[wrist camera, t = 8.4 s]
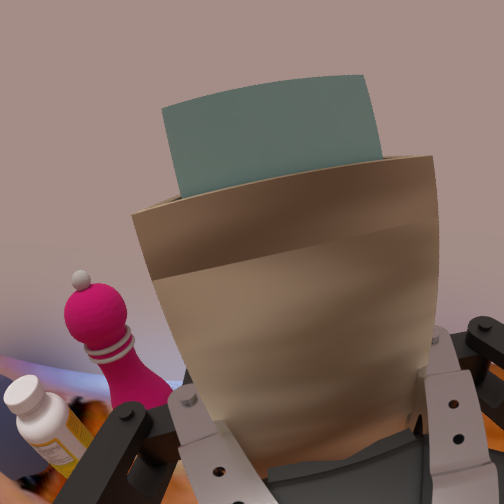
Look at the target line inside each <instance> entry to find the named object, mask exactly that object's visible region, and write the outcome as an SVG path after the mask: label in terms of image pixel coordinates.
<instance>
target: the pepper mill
mask: <svg viewBox="0 0 504 504" xmlns="http://www.w3.org/2000/svg"><path fill="white" fill-rule="evenodd" d="M90 282H91V279H90V276H89V274H88V273H87V272H86V271H83V270H78V271H76V272H75V273H74V274H73V276H72V285H73V287H74V288H75V289H77V291H75V292H74V293H73V294H72V295H71V296H70V297H69V299H68V301H67V303H66V305H65V309H64V318H65V323H66V326H67V328H68V330H69V332H70V334H71V335H72V336H73V337H74V338H75V339H76V340H78V341H79V342H82V343H84V350H85V352H86V353H87V354H88V357H89V359H90V360H91V361H92V362H93V363H97V364H98V365H99V367H100V368H101V370H102V371H103V373H104V375H105V377H106V379H107V382H108V385H109V388H110V395H111V403H112V408H113V409H114V408H115V407H117V406H118V405H120V404H122V403H124V402H128V401H137V402H140V403H141V404H143V405H144V407H145V408H146V410H148V409H151V408H155V407H158V406H161V405H164V404H167V403H168V398H169V396H170V394H171V393H172V392H173V390H172V389H171V387H170V386H169V385H168V384H167V383H166V382H165V381H164V380H163V379H162V378H161V377H159V376H158V375H156V374H155V373H154V372H152V371H151V370H150V369H148V368H147V367H146V366H145V365H144V364H143V363H142V362H141V361H140V359H139V357H138V356H137V354H136V352H135V349H134V347H133V345H134V342H135V338H134V336H133V335H132V334H131V329H130V327H129V326H127V325H125V322H126V319H127V309H126V305H125V303H124V300H123V299H122V297H121V295H120V294H119V293H118V292H117V291H116V290H115V289H114V288H113V287H111V286H109V285H106V284H101V283H97V284H90Z"/></svg>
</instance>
